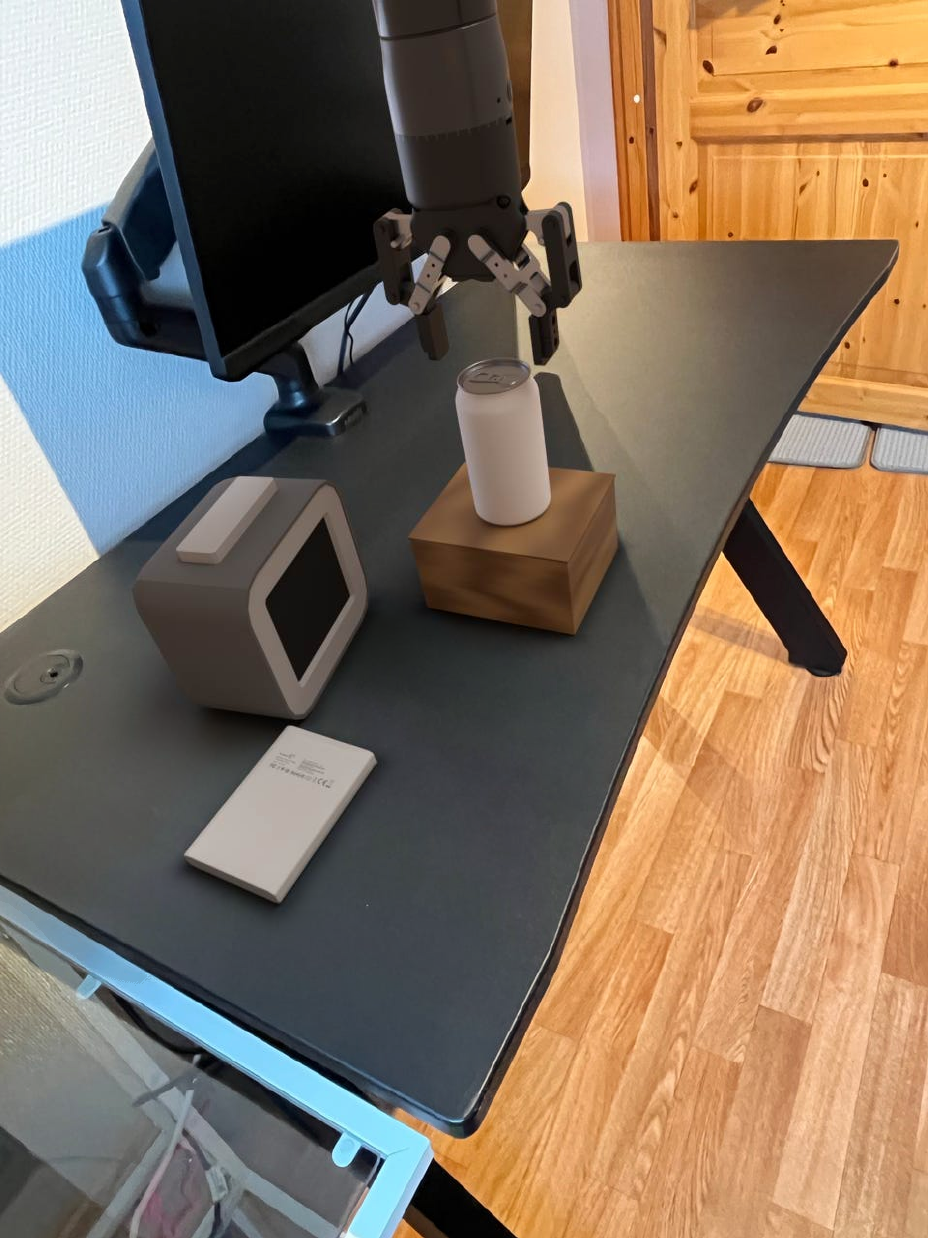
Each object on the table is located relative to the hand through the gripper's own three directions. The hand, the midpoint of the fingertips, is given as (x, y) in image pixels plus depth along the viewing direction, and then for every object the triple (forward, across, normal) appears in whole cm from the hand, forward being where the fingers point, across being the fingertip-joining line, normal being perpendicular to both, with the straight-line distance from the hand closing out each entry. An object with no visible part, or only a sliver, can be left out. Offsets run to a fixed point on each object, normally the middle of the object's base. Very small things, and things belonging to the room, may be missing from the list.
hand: (490, 358), depth 62 cm
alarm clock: (+21, -17, -15) cm, 31 cm away
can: (+13, 0, 0) cm, 13 cm away
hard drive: (+21, -7, -29) cm, 37 cm away
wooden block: (+21, 0, 0) cm, 21 cm away
